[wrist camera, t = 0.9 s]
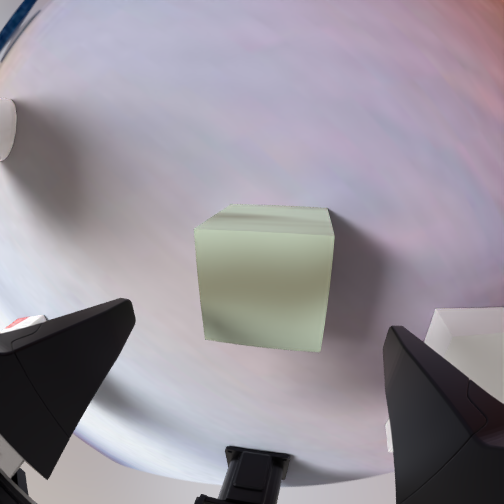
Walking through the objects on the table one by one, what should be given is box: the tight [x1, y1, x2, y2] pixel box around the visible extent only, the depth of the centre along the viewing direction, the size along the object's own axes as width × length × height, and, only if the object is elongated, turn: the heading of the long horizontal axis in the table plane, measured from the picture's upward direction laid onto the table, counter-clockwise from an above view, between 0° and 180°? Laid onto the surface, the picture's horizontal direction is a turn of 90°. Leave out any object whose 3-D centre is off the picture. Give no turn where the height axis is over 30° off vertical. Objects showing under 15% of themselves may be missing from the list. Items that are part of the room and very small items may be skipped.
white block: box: [385, 307, 504, 452], centre depth 14 cm, size 12×12×3 cm
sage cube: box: [194, 204, 335, 352], centre depth 13 cm, size 5×5×5 cm
